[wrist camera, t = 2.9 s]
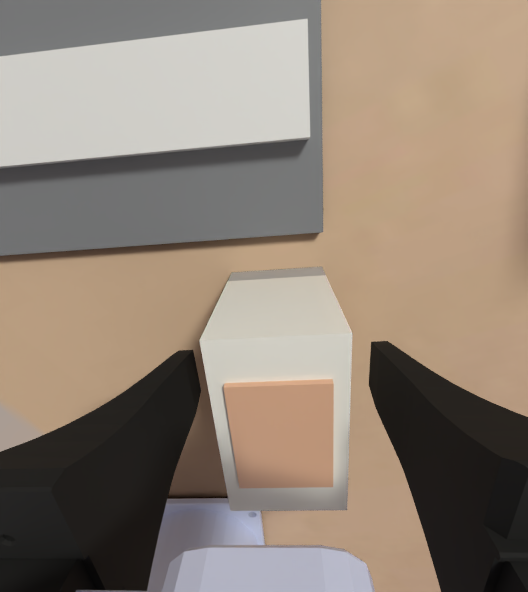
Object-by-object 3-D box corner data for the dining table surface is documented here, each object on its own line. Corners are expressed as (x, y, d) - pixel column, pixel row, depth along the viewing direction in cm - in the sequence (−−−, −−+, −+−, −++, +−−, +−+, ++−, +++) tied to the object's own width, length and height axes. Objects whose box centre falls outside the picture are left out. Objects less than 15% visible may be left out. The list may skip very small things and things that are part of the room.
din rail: (321, 230, 13) (325, 235, 12) (-73, 258, 14) (-105, 266, 13) (317, -109, 9) (323, -149, 8) (-216, -27, 10) (-279, -52, 9)
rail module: (323, 392, 16) (348, 516, 10) (247, 394, 16) (229, 516, 10) (321, 266, 13) (354, 337, 8) (231, 272, 14) (197, 344, 8)
